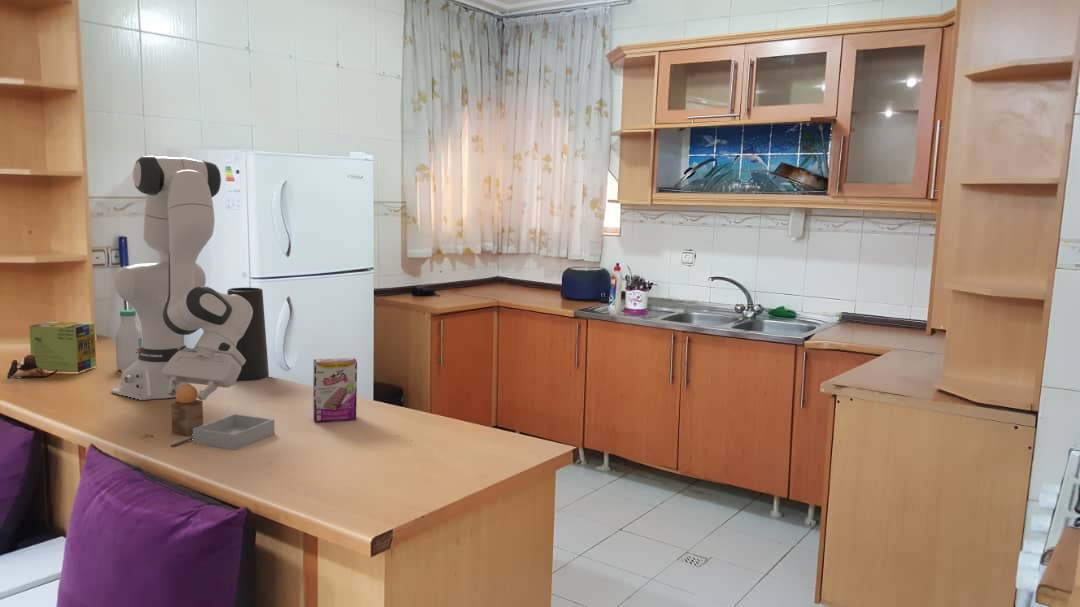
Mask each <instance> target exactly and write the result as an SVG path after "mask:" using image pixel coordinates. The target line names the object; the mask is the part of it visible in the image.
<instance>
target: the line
mask: <svg viewBox="0 0 1080 607" xmlns="http://www.w3.org/2000/svg"><path fill="white" fill-rule="evenodd" d="M192 439H193V436H192V437H191V436H190V437H189V438H187V439H184V440H181V441H177V442H176V443H173V444H171V445H170V447H172V446H175V447H177V445H178V446H180V445H179V444H181V445H182V443H183V444H185V443H184V442H186V443H188V442H187V441H189V440H191V441H193V440H192ZM189 442H190V441H189Z"/></svg>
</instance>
